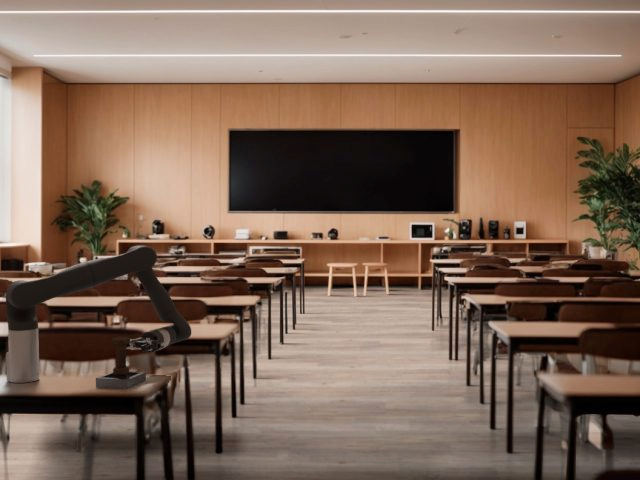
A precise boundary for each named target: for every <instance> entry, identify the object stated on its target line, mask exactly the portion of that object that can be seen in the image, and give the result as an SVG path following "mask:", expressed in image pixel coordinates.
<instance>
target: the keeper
mask: <svg viewBox="0 0 640 480" xmlns="http://www.w3.org/2000/svg"><path fill="white" fill-rule="evenodd" d="M145 382H147V372H146V371H132V370H131V371H130V370H129V372H128V373H127V374H126V379H121V378H116V374H114V373H113V371H111V372H108V373H105V374H102V375H100V376H98V377H96V378H95V388H99V389H100V388H101V389H102V388H103V389H115V390H116V389H117V390H118V389H119V390H129V389H131V388H133V387H136V386H139V385H141V384H143V383H145Z"/></svg>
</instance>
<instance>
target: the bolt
mask: <svg viewBox="0 0 640 480" xmlns="http://www.w3.org/2000/svg"><path fill="white" fill-rule="evenodd" d="M130 339H131V338H130V337H128V336H117V337H115V336H114V337H112V339H111V342H110V343H111V344H114V346H115V367H114V368H113V369H112V372H113V373H114V374H116V378H121V379H126V374H127V373H128V372H129V371H130V367H129V366H127V349H126V343H129V342H130Z"/></svg>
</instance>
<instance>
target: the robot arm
mask: <svg viewBox="0 0 640 480" xmlns="http://www.w3.org/2000/svg"><path fill="white" fill-rule="evenodd" d="M157 260H158V254H157V252H156V251H155V250H154V249H153V248H152V247H150V246H148V245H134V246H131V247H130V248H128V250H127V251H126V252H124V253H123V254H119V255H116V256H110V257H102V258H96V259H91V260H87V261H83V262H80V263H77V264H73V265H71V266H69V267H66V268H65V269H62V270H61V271H58V272H57V273H55V274H53V275H50V276H48V277H47V276H46V277H43V278H39V279H34V280H28V281H27V280H23V279H21V280H20V279H19V280H15V281H13V282H11V283H10V284H9V286H8V287H7V288H6V292H5V311H6V312H5V313H6V322H7V331H8V333H7V334H8V336H7V337H8V351H7V352H6V353H5V356H6V357H5V362H6V363H5V364H6V382H10V383H12V384H13V383H14V384H15V383H16V384H22V383H23V384H24V383H30V382H34V381H35V382H36V381H38V380H40V352H39V351H40V349H39V347H40V346H39V344H40V343H39V319H38V317H37V312H36V310H37V309H36V307H37V306H39V305H41V304H43V303H45V302H47V301H50V300H52V299H55V298H58V297H61V296H66V295H70V294H71V295H72V294H74V293H78V292H82V291H86V290H89V289H91V288H94V287H97V286H100V285H103V284H106V283H107V282H110V281H113V280H115V279H119V278H120V277H123V276H127V275H130V274H134V275H135V277H136V278H137V279H138V281H139V283H141V286H142V287H143V289H144V292H146V295H147V296H148V298H149V300H150V302H151V304H152V306H153V308H154V311H155V312H156V314H157V316H158V318H159V320H160V322H164V323H166V322H170V323H172V324H168V325H166V326H162V327H158V328H154V329H151V330H147V331H145V332H143V333H142V334H141V335H140V337H137V338H133V339H132V338H130V342H129V343H126V350H131V351H134V350H139V351H141V353H149V354H151V353H154V352H155V353H156V352H158V351H160V350H162V349H164V348H166V347H168V346H170V345H173V344H176V343H180V342H182V341H186V340H188V339H190V337H191V335H192V328H191V326H190V324H189V322H188V321H187V320H186V319H185V318H184V317H183V316H182V314H181V313H180V312H179V311H178V309H177V308H176V305H175V303H174V302H173V300H172V298H171V295H170V294H169V292H168V291H167V289H166V288H165V287H164V286H163V284H162V283H161V282H160V280H159V279H158V277H157V275H156V274H155V271H154V270H153V267H154V266H155V264H156V263H157Z"/></svg>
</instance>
